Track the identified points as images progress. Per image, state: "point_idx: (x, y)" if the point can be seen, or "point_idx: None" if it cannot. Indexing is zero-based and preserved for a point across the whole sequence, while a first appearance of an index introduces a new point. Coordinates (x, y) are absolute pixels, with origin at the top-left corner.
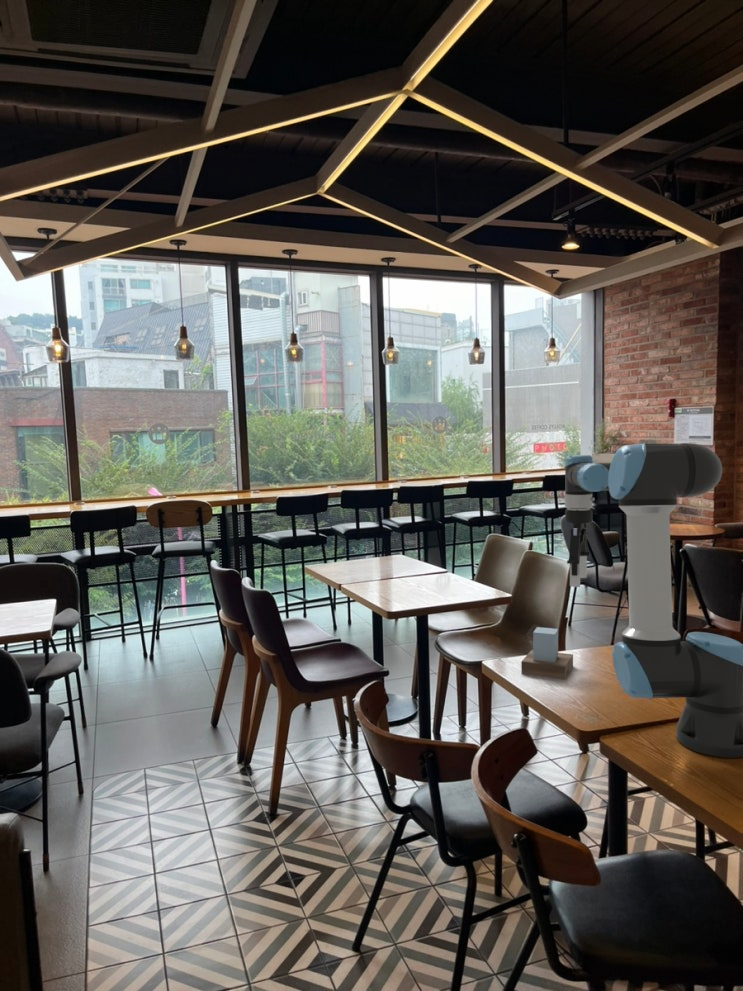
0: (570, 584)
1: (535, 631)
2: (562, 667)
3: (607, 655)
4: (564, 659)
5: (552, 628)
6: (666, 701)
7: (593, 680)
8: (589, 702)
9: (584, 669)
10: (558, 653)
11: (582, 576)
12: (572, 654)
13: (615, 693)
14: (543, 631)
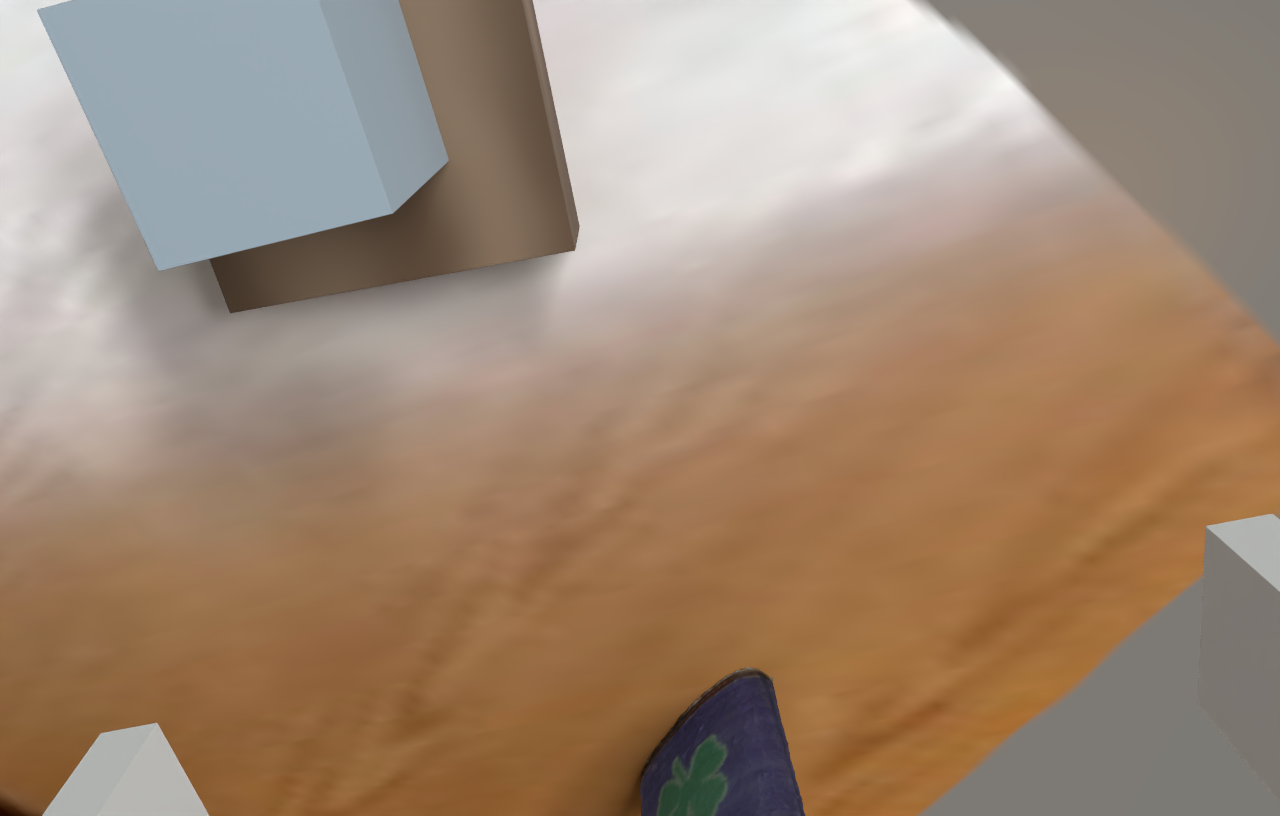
0: (85, 778)
1: (94, 17)
2: (224, 294)
3: (974, 350)
4: (402, 240)
5: (370, 145)
6: (331, 806)
7: (382, 443)
8: (14, 541)
9: (561, 321)
10: (527, 131)
11: (1220, 657)
12: (573, 245)
13: (258, 605)
14: (170, 106)
